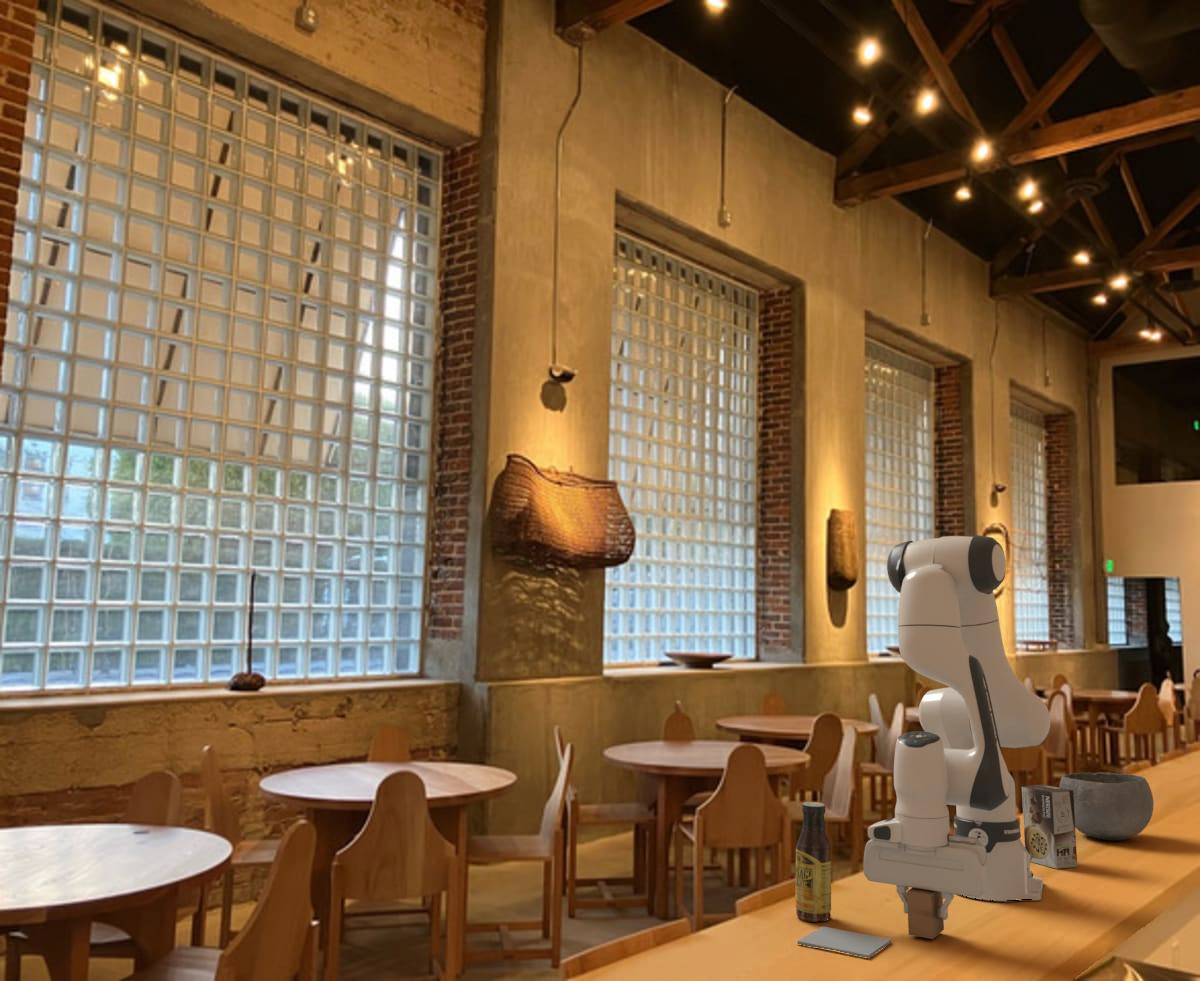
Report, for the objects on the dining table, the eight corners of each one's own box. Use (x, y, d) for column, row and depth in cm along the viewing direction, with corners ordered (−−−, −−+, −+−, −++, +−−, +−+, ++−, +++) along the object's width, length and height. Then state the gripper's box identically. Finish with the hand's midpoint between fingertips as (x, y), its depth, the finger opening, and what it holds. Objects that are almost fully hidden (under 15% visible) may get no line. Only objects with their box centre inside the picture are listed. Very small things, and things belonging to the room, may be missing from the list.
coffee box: (1079, 867, 222) (1075, 789, 224) (1055, 869, 219) (1052, 791, 221) (1046, 857, 230) (1042, 783, 232) (1023, 860, 228) (1020, 785, 230)
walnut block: (920, 925, 177) (918, 883, 178) (944, 929, 175) (942, 886, 175) (908, 934, 172) (907, 891, 173) (932, 939, 170) (930, 894, 171)
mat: (822, 930, 176) (822, 926, 176) (891, 943, 169) (891, 939, 169) (797, 944, 168) (797, 941, 168) (868, 959, 161) (868, 955, 161)
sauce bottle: (789, 915, 185) (787, 801, 187) (819, 912, 187) (816, 799, 189) (808, 925, 179) (806, 807, 181) (839, 922, 181) (837, 805, 183)
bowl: (1134, 830, 260) (1131, 769, 262) (1171, 848, 240) (1167, 782, 242) (1049, 828, 262) (1047, 768, 264) (1078, 846, 242) (1075, 780, 244)
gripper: (990, 835, 172) (994, 921, 170) (872, 821, 184) (874, 901, 182) (980, 842, 167) (984, 931, 165) (858, 827, 178) (861, 910, 177)
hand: (925, 915), depth 174 cm, fingers closed on walnut block, 4 cm apart
